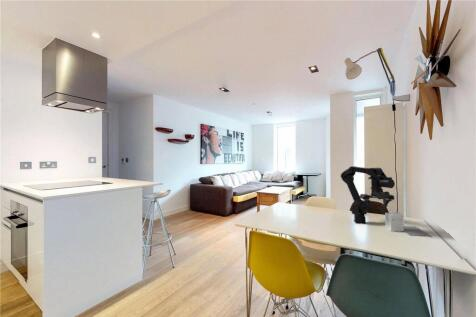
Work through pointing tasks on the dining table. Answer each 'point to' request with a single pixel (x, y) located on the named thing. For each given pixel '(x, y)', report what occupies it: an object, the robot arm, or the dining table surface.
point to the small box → (394, 221)
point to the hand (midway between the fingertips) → (377, 209)
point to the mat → (415, 231)
